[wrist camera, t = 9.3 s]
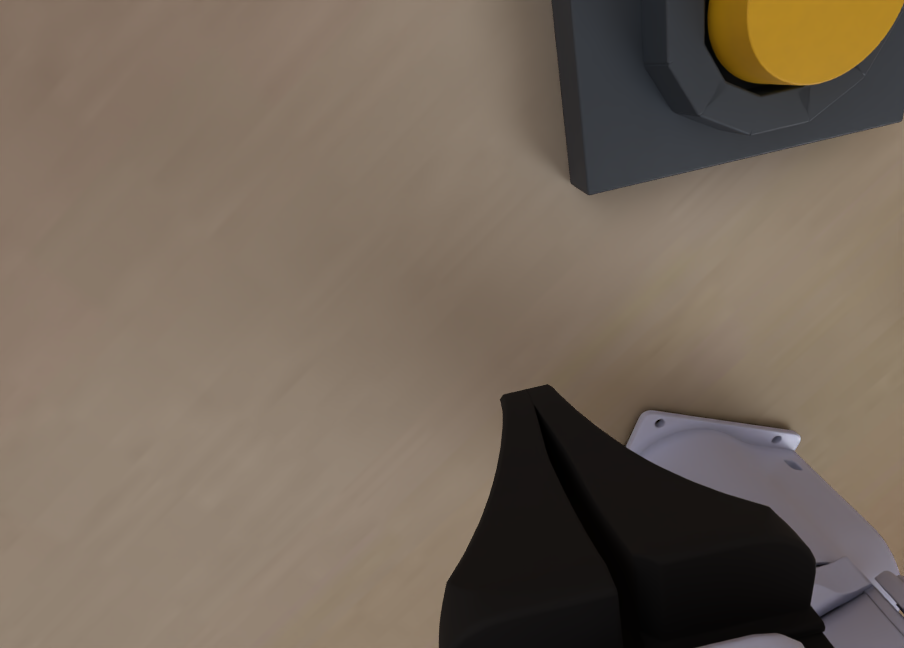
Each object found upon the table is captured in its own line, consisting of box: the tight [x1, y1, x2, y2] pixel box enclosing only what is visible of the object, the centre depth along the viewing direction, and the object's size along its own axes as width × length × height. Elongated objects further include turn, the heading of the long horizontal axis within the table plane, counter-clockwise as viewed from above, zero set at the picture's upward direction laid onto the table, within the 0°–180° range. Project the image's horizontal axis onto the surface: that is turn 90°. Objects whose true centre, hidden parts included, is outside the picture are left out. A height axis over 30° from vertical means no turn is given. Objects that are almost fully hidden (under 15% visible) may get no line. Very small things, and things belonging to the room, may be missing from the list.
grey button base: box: [552, 0, 904, 195], centre depth 17 cm, size 12×10×4 cm
